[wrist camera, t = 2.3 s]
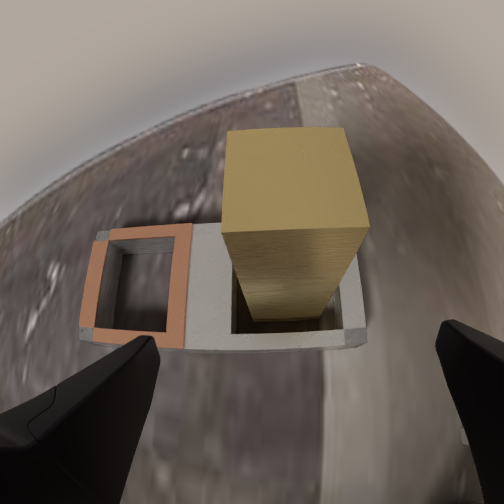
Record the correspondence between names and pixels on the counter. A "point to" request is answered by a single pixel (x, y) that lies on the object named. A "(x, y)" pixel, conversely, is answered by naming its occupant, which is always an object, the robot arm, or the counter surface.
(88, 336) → the divided tray
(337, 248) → the tan block
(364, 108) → the counter surface
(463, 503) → the supplement container
